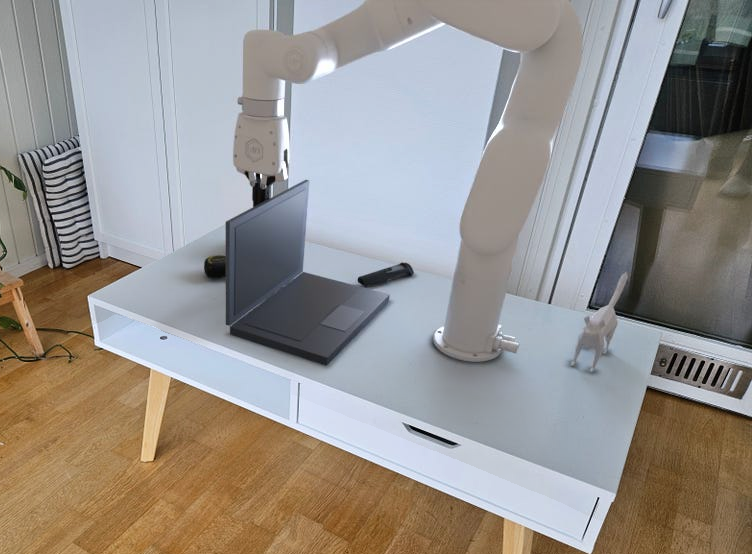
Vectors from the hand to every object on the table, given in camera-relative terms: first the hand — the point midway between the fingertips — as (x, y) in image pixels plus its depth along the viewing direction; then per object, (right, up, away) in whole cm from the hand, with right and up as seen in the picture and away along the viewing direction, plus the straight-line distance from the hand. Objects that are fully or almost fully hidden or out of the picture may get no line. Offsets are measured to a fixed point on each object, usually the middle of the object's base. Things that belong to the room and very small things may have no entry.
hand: (260, 206), depth 124 cm
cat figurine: (+62, -30, -5) cm, 69 cm away
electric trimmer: (+28, -12, +21) cm, 38 cm away
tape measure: (-9, -11, +22) cm, 26 cm away
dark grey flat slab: (+11, -21, +6) cm, 25 cm away
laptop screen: (+2, -8, +4) cm, 9 cm away
